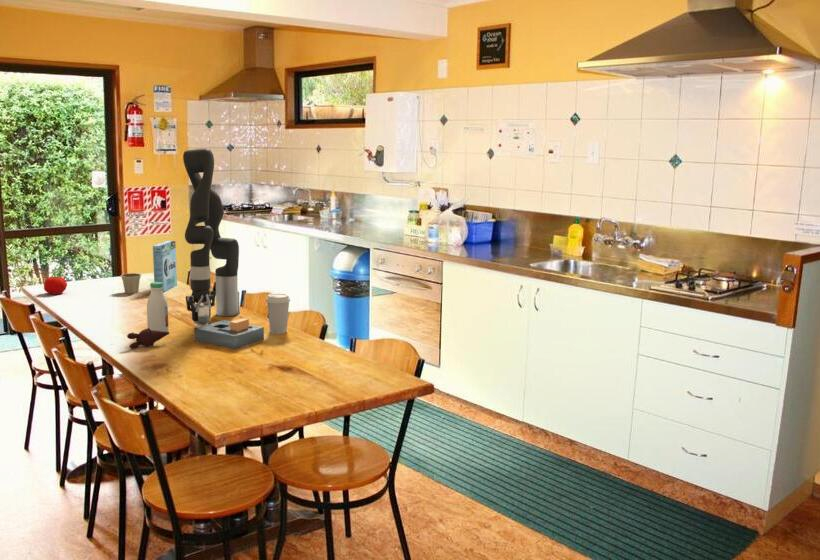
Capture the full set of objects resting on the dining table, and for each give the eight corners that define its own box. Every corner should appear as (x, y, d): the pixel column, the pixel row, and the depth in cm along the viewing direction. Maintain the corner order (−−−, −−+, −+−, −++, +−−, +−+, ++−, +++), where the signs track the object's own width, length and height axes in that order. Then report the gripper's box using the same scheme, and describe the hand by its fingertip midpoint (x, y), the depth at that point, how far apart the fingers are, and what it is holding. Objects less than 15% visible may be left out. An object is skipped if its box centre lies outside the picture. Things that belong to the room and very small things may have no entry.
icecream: (164, 324, 280) (123, 332, 272) (170, 323, 274) (129, 332, 266) (168, 342, 281) (127, 351, 272) (174, 341, 275) (133, 351, 266)
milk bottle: (162, 336, 287) (160, 285, 283) (143, 334, 289) (141, 283, 285) (172, 331, 295) (170, 281, 291) (154, 329, 296) (152, 280, 292)
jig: (224, 332, 295) (223, 318, 294) (263, 339, 286) (263, 325, 285) (194, 341, 281) (194, 326, 280) (235, 349, 272) (235, 334, 271)
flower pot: (137, 294, 359) (137, 277, 358) (118, 294, 359) (117, 276, 358) (144, 290, 368) (144, 273, 367) (125, 290, 369) (125, 273, 367)
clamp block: (242, 326, 284) (242, 318, 283) (248, 328, 283) (248, 319, 282) (230, 330, 278) (229, 321, 277) (236, 331, 277) (236, 323, 276)
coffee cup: (261, 331, 297) (260, 295, 295) (280, 328, 304) (280, 291, 302) (275, 336, 291) (275, 299, 288) (295, 332, 298) (295, 295, 295)
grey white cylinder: (201, 330, 297) (200, 303, 295) (213, 332, 294) (212, 305, 292) (190, 333, 292) (189, 306, 290) (202, 336, 289) (201, 308, 287)
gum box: (163, 292, 366) (162, 246, 362) (153, 292, 366) (151, 245, 362) (177, 285, 385) (176, 240, 381) (167, 284, 385) (166, 240, 381)
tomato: (40, 293, 355) (39, 276, 354) (60, 290, 363) (59, 273, 362) (51, 296, 350) (49, 279, 348) (71, 293, 358) (70, 276, 357)
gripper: (206, 273, 297) (207, 314, 300) (179, 278, 284) (180, 321, 287) (220, 275, 293) (221, 317, 296) (194, 281, 281) (195, 324, 284)
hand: (201, 319), depth 292 cm, fingers closed on grey white cylinder, 6 cm apart
